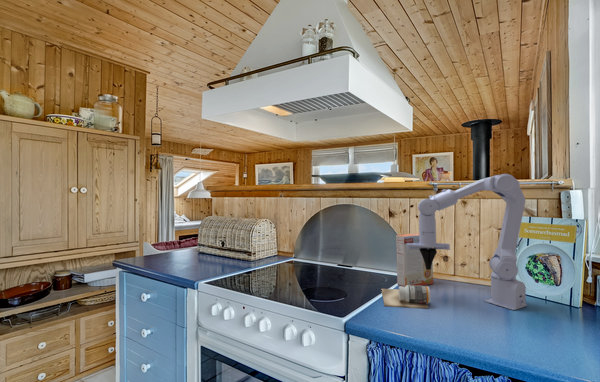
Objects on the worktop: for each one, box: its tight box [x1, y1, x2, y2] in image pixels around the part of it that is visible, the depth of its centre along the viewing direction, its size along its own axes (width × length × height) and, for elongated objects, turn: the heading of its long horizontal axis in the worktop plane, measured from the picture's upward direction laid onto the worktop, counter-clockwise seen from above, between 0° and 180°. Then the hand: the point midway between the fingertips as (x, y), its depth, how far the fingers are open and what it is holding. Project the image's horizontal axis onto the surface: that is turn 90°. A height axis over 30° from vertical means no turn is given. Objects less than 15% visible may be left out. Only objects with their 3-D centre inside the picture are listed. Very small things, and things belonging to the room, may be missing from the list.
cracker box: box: [395, 232, 434, 287], centre depth 132 cm, size 14×6×21 cm, turn 109°
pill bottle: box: [398, 285, 431, 305], centre depth 109 cm, size 6×6×10 cm
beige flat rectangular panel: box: [380, 288, 429, 309], centre depth 115 cm, size 14×18×1 cm
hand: (428, 269), depth 116 cm, fingers closed
